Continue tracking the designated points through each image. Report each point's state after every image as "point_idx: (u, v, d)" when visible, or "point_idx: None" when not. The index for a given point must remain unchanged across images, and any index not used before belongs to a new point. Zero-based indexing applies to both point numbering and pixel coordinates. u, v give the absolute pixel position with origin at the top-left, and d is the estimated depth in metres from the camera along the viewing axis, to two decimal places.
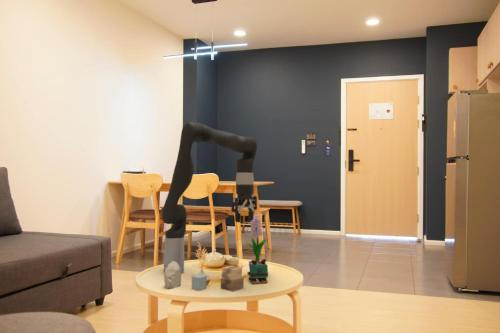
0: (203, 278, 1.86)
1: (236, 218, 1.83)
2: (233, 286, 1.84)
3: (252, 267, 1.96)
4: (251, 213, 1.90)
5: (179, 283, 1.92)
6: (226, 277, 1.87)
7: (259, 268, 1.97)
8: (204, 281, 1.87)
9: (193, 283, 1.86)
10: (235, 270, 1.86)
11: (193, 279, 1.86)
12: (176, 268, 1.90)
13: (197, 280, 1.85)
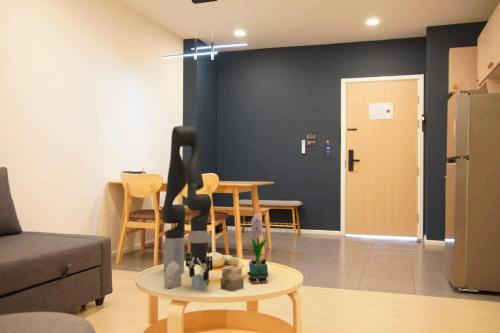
0: None
1: (206, 277, 1.84)
2: (233, 286, 1.84)
3: (252, 267, 1.96)
4: (193, 270, 1.90)
5: (179, 283, 1.92)
6: (226, 277, 1.87)
7: (259, 268, 1.97)
8: (204, 281, 1.87)
9: (193, 283, 1.86)
10: (235, 270, 1.86)
11: (193, 279, 1.86)
12: (176, 268, 1.90)
13: (197, 280, 1.85)
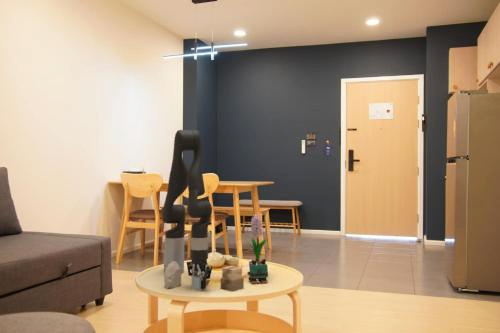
0: None
1: (204, 285, 1.85)
2: (233, 286, 1.84)
3: (252, 267, 1.96)
4: None
5: (179, 283, 1.92)
6: (226, 277, 1.87)
7: (259, 268, 1.97)
8: None
9: (193, 283, 1.87)
10: (235, 270, 1.86)
11: (193, 279, 1.86)
12: (176, 268, 1.90)
13: (197, 280, 1.85)
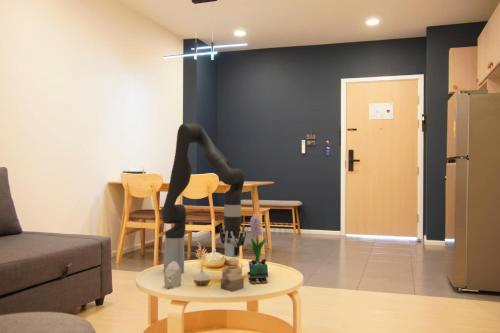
0: None
1: (237, 252, 1.87)
2: (233, 286, 1.84)
3: (252, 267, 1.96)
4: None
5: (179, 283, 1.92)
6: (226, 277, 1.87)
7: (259, 268, 1.97)
8: None
9: (226, 250, 1.88)
10: (234, 270, 1.86)
11: (227, 246, 1.88)
12: (176, 268, 1.90)
13: (231, 246, 1.86)
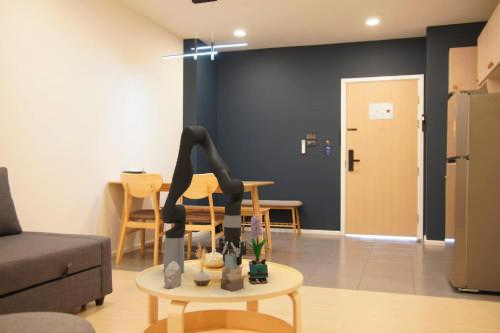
0: (236, 256, 1.88)
1: (240, 261, 1.86)
2: (233, 286, 1.84)
3: (252, 267, 1.96)
4: None
5: (179, 283, 1.92)
6: (225, 277, 1.87)
7: (259, 268, 1.97)
8: None
9: (226, 262, 1.88)
10: (234, 270, 1.86)
11: (227, 257, 1.88)
12: (176, 268, 1.90)
13: (231, 258, 1.86)
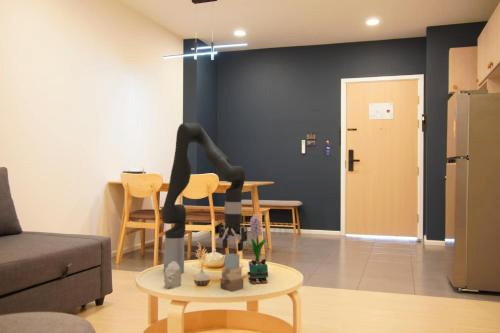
0: (236, 256, 1.88)
1: (241, 247, 1.86)
2: (233, 286, 1.84)
3: (252, 267, 1.96)
4: (226, 241, 1.92)
5: (179, 283, 1.92)
6: (225, 277, 1.87)
7: (259, 268, 1.97)
8: (237, 260, 1.88)
9: (226, 262, 1.88)
10: (234, 270, 1.86)
11: (227, 258, 1.88)
12: (176, 268, 1.90)
13: (230, 258, 1.86)
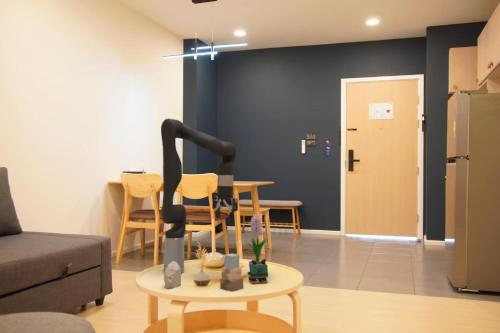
0: (236, 256, 1.88)
1: (232, 217, 2.02)
2: (233, 286, 1.84)
3: (252, 267, 1.96)
4: (219, 212, 2.08)
5: (179, 283, 1.92)
6: (225, 277, 1.87)
7: (259, 268, 1.97)
8: (237, 260, 1.88)
9: (226, 262, 1.88)
10: (234, 270, 1.86)
11: (226, 258, 1.88)
12: (176, 268, 1.90)
13: (230, 259, 1.86)
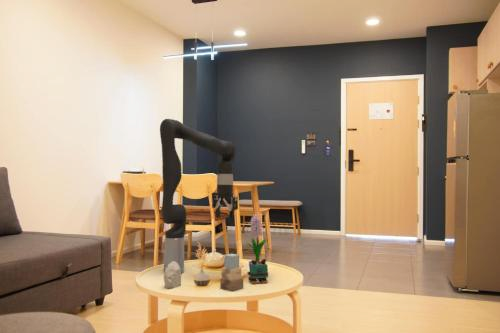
0: (236, 256, 1.88)
1: (232, 215, 2.02)
2: (233, 286, 1.84)
3: (252, 267, 1.96)
4: (219, 211, 2.08)
5: (179, 283, 1.92)
6: (225, 277, 1.87)
7: (259, 268, 1.97)
8: (237, 260, 1.88)
9: (226, 262, 1.88)
10: (234, 270, 1.86)
11: (226, 258, 1.88)
12: (176, 268, 1.90)
13: (230, 259, 1.86)
